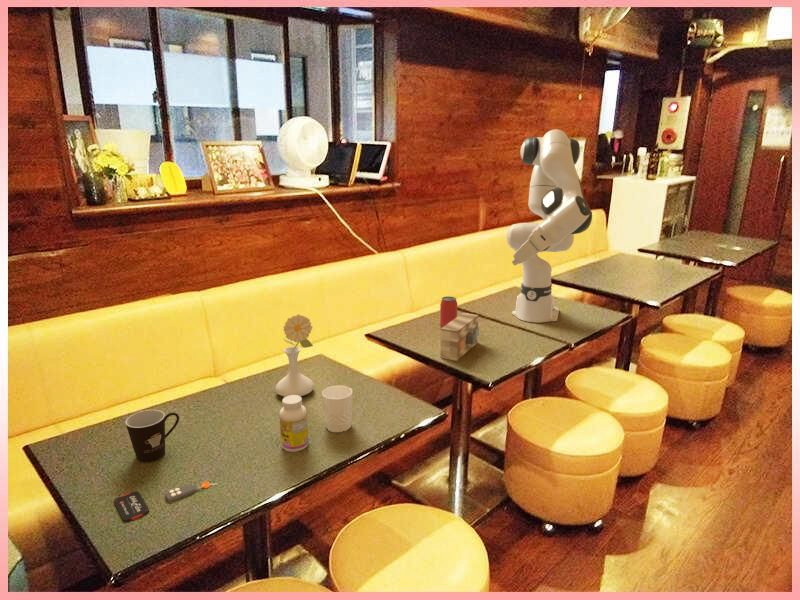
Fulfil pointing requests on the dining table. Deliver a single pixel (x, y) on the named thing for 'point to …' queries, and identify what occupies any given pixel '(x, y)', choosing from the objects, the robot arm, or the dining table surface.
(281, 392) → the flower in vase
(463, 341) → the terracotta button
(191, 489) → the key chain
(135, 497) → the black flat block
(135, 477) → the dining table surface
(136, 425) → the coffee mug
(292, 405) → the supplement bottle
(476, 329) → the slate-blue button
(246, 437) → the dining table surface
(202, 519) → the dining table surface
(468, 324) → the block
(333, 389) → the white cup
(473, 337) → the charcoal button
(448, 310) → the beer can
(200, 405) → the dining table surface
